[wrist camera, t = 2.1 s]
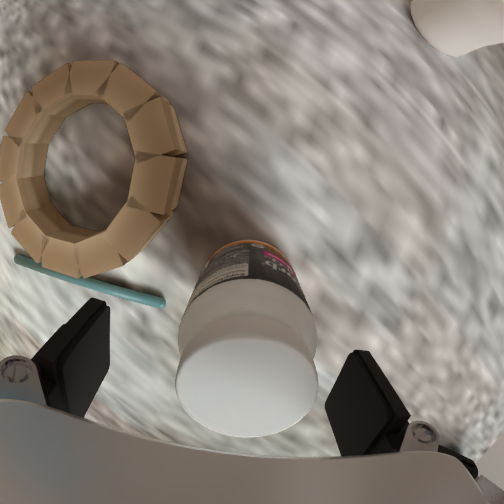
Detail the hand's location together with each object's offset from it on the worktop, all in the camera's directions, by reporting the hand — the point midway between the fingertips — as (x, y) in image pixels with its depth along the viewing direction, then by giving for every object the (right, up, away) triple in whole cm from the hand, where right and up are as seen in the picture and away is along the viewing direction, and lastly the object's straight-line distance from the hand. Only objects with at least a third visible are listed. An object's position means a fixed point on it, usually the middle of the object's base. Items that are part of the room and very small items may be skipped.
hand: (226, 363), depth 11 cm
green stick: (-11, +2, +8) cm, 13 cm away
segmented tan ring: (-9, +9, +6) cm, 14 cm away
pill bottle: (+1, +2, +8) cm, 8 cm away
